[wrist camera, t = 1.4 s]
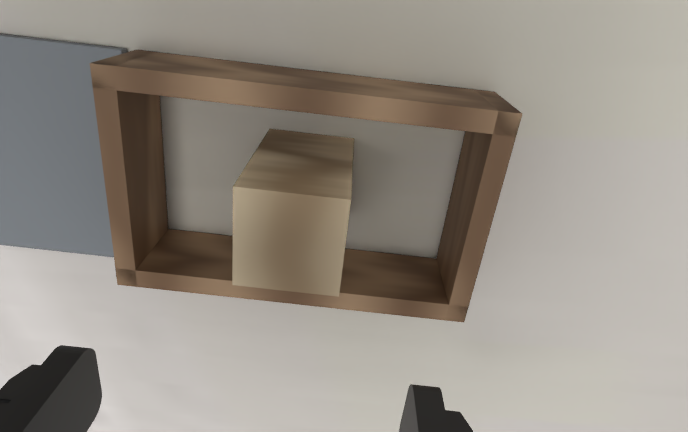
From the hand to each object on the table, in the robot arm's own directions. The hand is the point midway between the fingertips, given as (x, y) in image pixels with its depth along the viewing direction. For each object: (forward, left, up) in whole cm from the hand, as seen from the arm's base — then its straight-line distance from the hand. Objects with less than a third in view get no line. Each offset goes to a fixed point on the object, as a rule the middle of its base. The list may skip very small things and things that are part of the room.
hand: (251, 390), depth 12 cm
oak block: (0, 0, -16) cm, 16 cm away
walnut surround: (0, 0, -16) cm, 16 cm away
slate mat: (-15, 0, -16) cm, 22 cm away
